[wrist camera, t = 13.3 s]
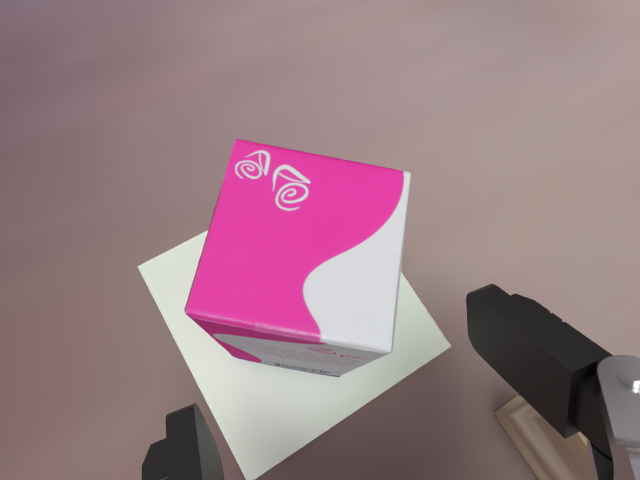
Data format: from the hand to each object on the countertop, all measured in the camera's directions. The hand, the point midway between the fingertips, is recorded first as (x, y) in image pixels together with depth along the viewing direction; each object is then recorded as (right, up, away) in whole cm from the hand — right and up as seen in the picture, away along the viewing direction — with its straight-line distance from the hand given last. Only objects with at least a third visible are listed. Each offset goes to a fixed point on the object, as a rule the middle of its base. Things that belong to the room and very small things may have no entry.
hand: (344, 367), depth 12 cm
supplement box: (-2, 0, +11) cm, 11 cm away
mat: (-2, 0, +12) cm, 12 cm away
